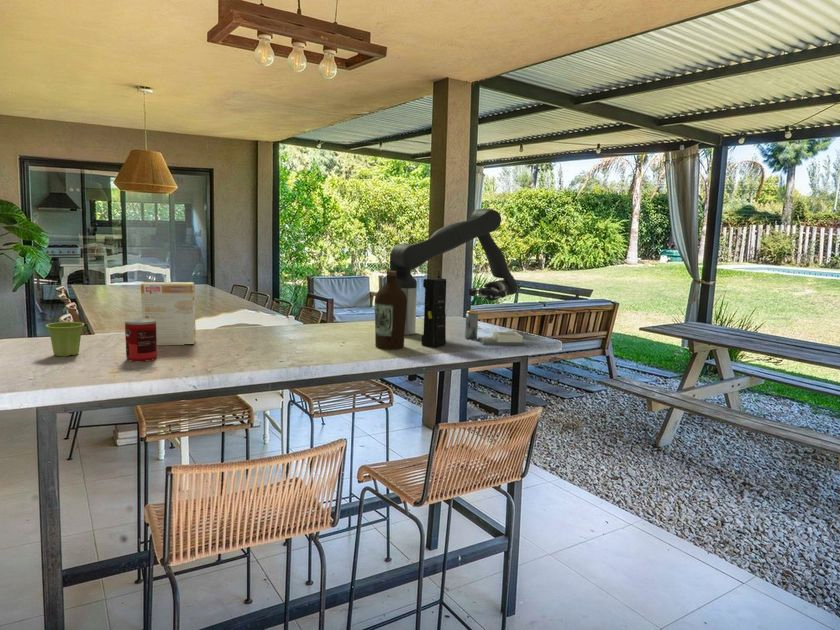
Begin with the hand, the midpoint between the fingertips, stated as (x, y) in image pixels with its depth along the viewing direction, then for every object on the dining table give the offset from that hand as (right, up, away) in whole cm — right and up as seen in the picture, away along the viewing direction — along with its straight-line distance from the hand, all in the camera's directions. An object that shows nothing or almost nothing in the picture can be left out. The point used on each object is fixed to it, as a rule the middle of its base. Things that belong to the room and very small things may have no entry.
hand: (482, 294), depth 223 cm
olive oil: (-34, -19, -29) cm, 48 cm away
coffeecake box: (-103, -17, -35) cm, 111 cm away
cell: (-5, -16, -8) cm, 19 cm away
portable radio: (-19, -18, -24) cm, 36 cm away
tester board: (+5, -18, -14) cm, 23 cm away
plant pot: (-124, -19, -55) cm, 137 cm away
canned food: (-102, -20, -58) cm, 119 cm away
